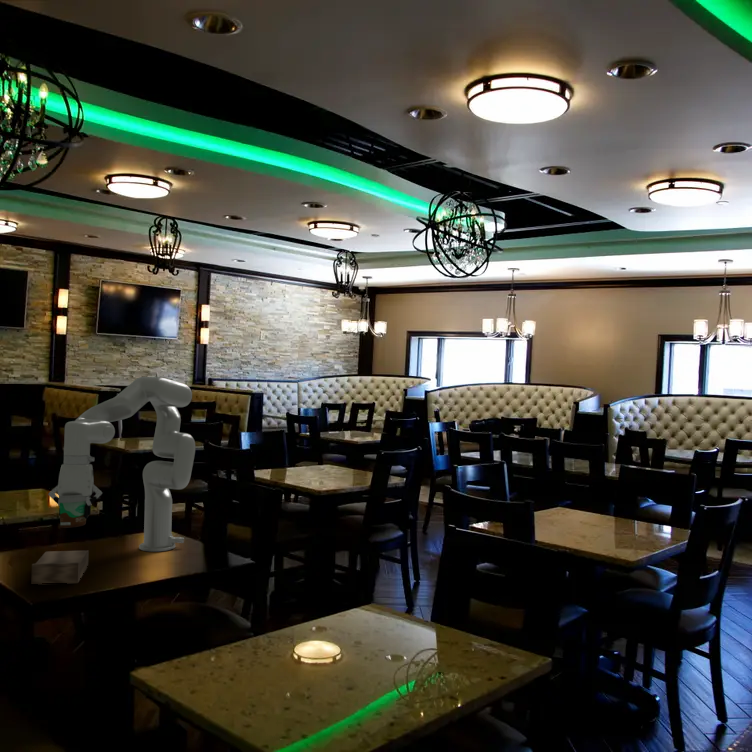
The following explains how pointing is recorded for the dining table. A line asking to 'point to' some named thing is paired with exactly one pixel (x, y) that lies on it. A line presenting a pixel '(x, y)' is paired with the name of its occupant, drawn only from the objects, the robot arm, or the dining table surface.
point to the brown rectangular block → (60, 567)
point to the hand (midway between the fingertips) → (74, 517)
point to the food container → (72, 511)
